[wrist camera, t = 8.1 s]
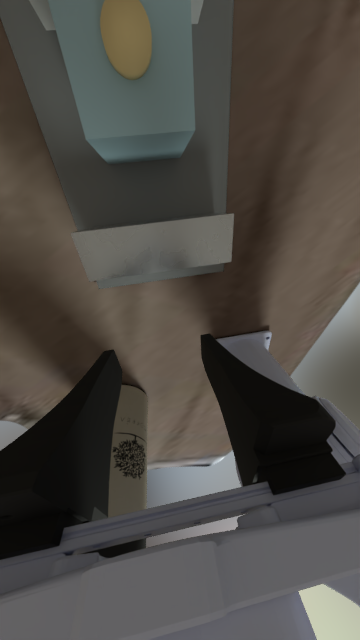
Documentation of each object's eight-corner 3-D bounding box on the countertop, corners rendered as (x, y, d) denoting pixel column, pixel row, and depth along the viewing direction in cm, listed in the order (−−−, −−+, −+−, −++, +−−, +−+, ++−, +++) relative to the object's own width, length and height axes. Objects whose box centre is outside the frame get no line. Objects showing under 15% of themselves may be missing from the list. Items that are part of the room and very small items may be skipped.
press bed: (220, 268, 18) (241, 285, 14) (101, 285, 17) (85, 308, 13) (229, -103, 9) (307, -409, 4) (-36, -105, 8) (-259, -484, 4)
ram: (214, 251, 16) (231, 261, 13) (102, 266, 15) (89, 281, 12) (214, 212, 14) (234, 213, 11) (89, 227, 14) (70, 232, 10)
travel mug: (116, 421, 29) (80, 647, 14) (80, 398, 25) (-26, 681, 10) (157, 402, 28) (166, 624, 13) (126, 374, 24) (86, 652, 9)
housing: (180, 157, 12) (197, 127, 8) (108, 164, 12) (83, 136, 8) (171, 37, 10) (189, -113, 5) (79, 42, 9) (13, -115, 5)
